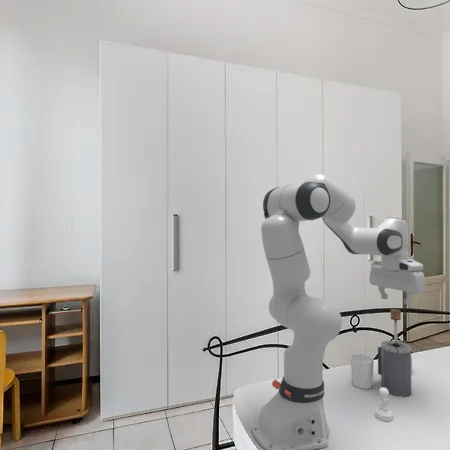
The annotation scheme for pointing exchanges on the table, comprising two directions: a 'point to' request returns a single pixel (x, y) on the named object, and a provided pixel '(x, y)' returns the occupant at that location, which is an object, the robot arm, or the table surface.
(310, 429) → the robot arm
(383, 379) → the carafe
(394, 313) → the plunger
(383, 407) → the chess pawn
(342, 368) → the table surface
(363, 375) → the white cup
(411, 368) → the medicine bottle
